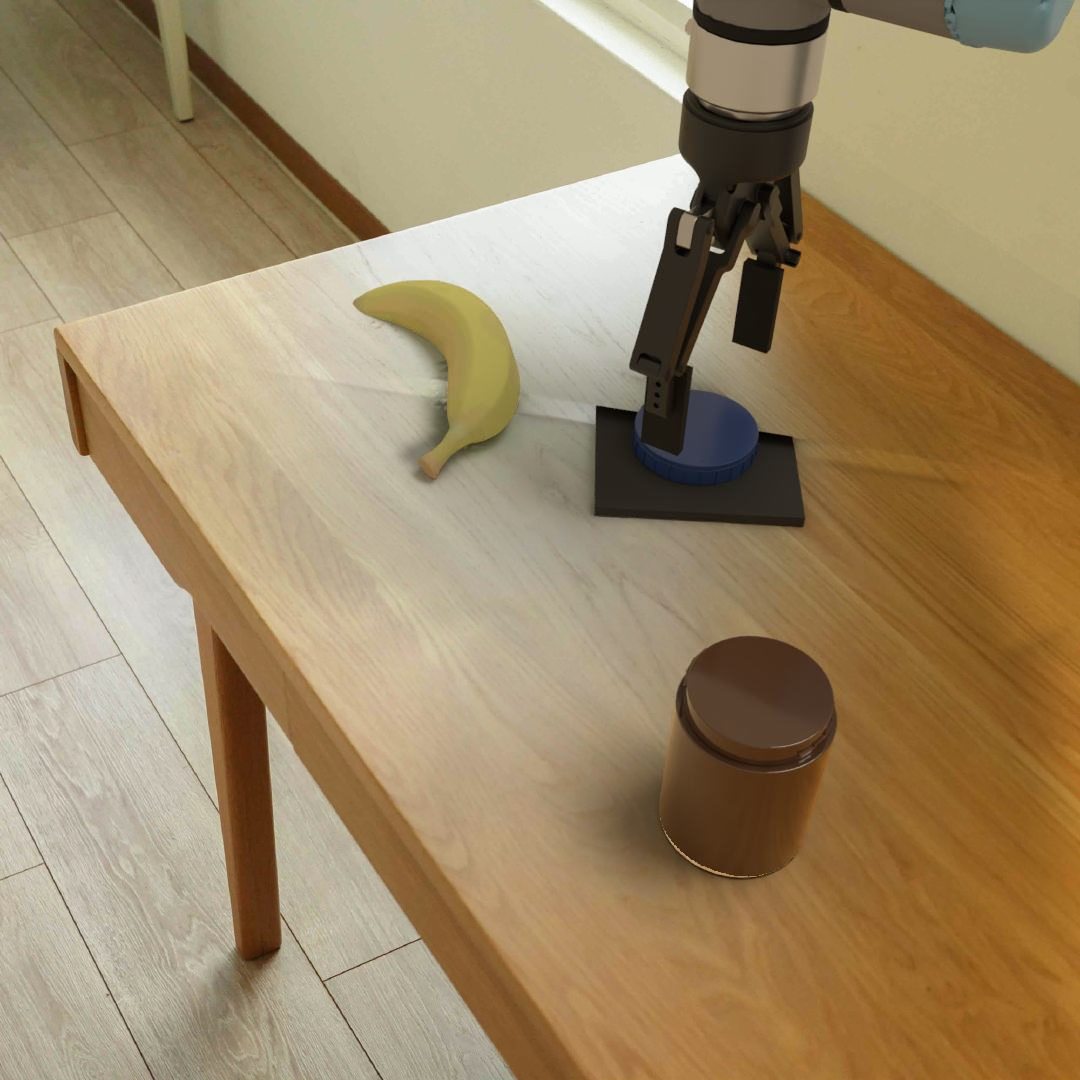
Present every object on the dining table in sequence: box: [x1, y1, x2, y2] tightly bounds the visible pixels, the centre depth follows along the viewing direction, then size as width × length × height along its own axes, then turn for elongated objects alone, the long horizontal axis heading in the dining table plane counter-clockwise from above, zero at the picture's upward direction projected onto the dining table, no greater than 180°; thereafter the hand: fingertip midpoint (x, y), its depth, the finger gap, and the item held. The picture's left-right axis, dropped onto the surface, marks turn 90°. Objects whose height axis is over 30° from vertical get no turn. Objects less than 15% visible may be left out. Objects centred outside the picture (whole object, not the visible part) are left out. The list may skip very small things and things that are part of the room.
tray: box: [593, 404, 806, 527], centre depth 95 cm, size 14×14×1 cm
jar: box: [658, 635, 838, 877], centre depth 69 cm, size 8×8×10 cm
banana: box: [352, 279, 521, 480], centre depth 98 cm, size 14×6×20 cm
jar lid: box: [632, 389, 760, 485], centre depth 94 cm, size 9×9×2 cm
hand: (708, 393), depth 91 cm, fingers open, 13 cm apart
